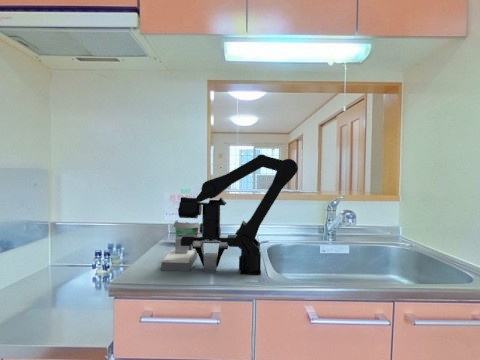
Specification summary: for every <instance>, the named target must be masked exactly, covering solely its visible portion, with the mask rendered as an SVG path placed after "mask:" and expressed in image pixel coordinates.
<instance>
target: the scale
mask: <svg viewBox="0 0 480 360" xmlns="http://www.w3.org/2000/svg"><path fill="white" fill-rule="evenodd" d="M184 235H185V234H178V237H183V236H184ZM192 247H193V246H192V245H191V246H189V251H188V253H187V254H176V253H175V249H172V250H171V251H169V252H168V254H167V255H166V256H165V257H164V258H163V260H162V261H161V271H177V272H179V271H181V272H183V271H184V272H185V271H186V272H189V271H191V269H192V267H193V265H194V263H195V261H196V260H197V258H198V253H197V251H196V249H193V248H192Z"/></svg>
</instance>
